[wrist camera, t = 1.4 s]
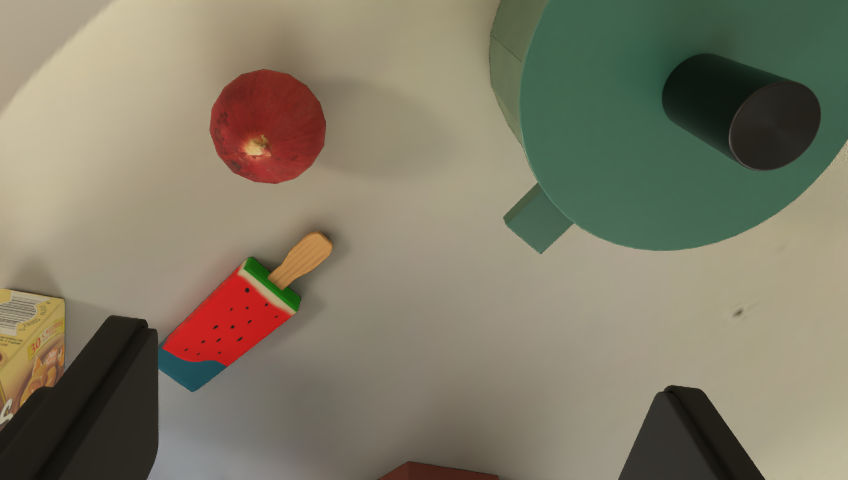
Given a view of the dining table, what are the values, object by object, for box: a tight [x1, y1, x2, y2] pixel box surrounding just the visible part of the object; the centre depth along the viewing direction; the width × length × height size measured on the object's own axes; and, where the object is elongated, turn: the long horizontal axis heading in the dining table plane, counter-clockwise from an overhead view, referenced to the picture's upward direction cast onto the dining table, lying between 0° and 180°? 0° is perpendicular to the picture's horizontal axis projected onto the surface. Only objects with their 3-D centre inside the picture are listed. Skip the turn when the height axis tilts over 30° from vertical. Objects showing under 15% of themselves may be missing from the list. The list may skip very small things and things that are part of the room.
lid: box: [517, 0, 848, 251], centre depth 22 cm, size 15×15×7 cm
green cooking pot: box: [489, 0, 574, 254], centre depth 30 cm, size 14×19×10 cm
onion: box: [210, 69, 326, 184], centre depth 31 cm, size 6×6×8 cm
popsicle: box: [158, 231, 333, 392], centre depth 40 cm, size 5×2×15 cm
